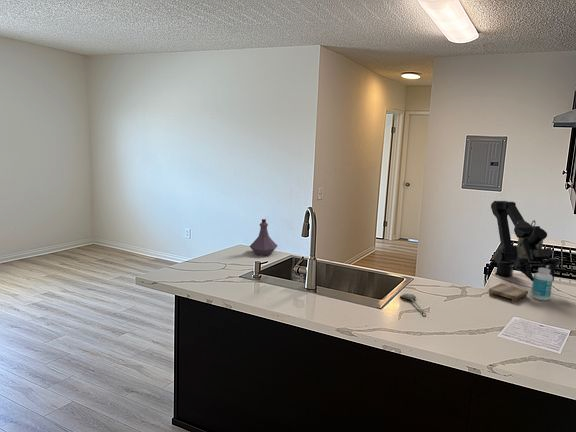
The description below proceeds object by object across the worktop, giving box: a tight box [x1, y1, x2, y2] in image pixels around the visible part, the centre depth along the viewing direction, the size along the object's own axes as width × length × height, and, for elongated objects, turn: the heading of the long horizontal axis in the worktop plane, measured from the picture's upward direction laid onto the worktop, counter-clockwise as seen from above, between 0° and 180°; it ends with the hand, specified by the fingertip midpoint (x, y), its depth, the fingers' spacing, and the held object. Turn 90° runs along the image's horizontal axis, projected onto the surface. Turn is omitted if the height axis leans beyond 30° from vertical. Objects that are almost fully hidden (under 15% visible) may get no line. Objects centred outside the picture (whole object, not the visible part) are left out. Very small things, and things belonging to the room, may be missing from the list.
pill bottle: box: [530, 267, 554, 301], centre depth 200 cm, size 8×7×14 cm
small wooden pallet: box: [488, 282, 529, 304], centre depth 203 cm, size 12×12×3 cm
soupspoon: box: [399, 293, 427, 314], centre depth 191 cm, size 22×3×7 cm
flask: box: [249, 218, 278, 256], centre depth 260 cm, size 16×16×20 cm
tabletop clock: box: [516, 219, 544, 268], centre depth 247 cm, size 14×9×25 cm, turn 137°
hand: (542, 280), depth 200 cm, fingers open, 9 cm apart
